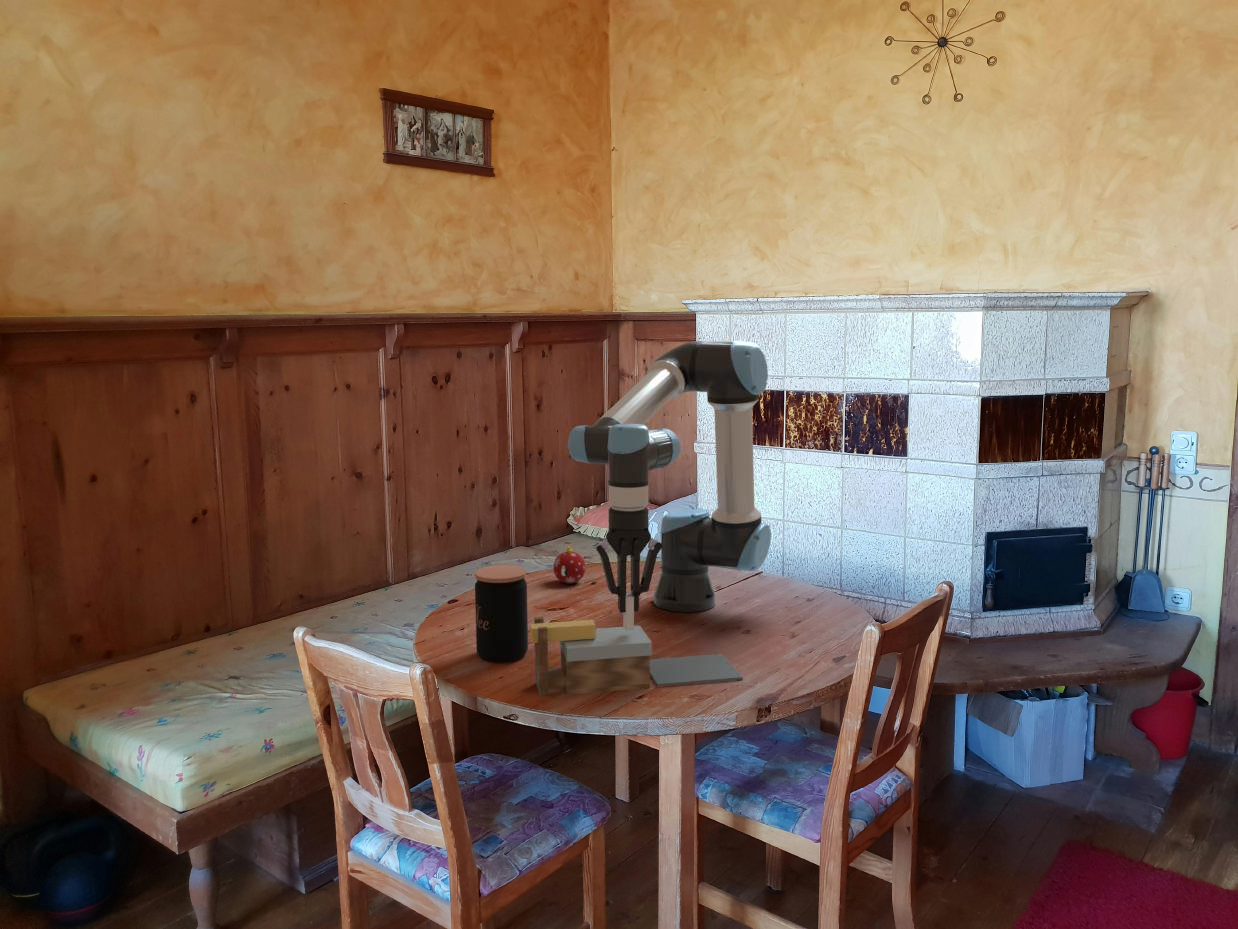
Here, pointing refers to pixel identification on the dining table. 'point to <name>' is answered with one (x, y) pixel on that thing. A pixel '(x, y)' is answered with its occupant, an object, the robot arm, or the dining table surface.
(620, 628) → the lid
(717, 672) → the mat
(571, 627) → the yellow block
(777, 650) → the dining table surface
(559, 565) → the christmas ornament
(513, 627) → the coffee jar
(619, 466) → the robot arm
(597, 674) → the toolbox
